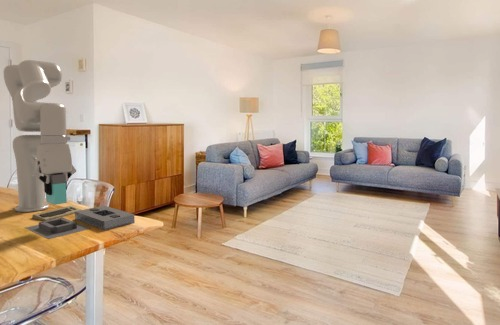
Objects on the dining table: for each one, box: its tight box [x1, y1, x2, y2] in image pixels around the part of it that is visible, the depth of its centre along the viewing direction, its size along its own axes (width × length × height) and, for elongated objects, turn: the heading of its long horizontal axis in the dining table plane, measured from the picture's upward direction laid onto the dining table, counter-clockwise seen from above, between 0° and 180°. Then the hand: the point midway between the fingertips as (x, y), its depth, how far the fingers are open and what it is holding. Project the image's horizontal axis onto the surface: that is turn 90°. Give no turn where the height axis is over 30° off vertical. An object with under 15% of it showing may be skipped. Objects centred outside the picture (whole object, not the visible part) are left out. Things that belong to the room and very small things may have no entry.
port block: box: [74, 205, 135, 231], centre depth 127 cm, size 20×12×4 cm, turn 54°
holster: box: [24, 217, 92, 240], centre depth 117 cm, size 18×14×3 cm
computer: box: [31, 205, 82, 222], centre depth 134 cm, size 16×8×3 cm, turn 154°
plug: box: [45, 173, 68, 206], centre depth 116 cm, size 6×4×10 cm, turn 54°
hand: (56, 192), depth 116 cm, fingers closed on plug, 4 cm apart
